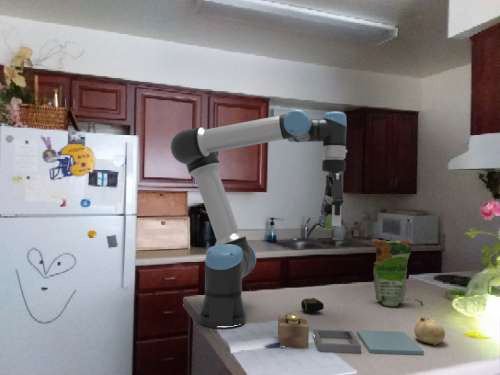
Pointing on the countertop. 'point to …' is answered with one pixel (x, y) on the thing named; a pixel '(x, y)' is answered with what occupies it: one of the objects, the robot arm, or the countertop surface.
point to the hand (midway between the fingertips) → (332, 224)
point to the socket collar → (337, 348)
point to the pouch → (391, 270)
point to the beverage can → (326, 214)
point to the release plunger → (293, 317)
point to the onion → (429, 331)
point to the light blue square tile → (389, 342)
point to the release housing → (293, 333)
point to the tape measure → (312, 305)
